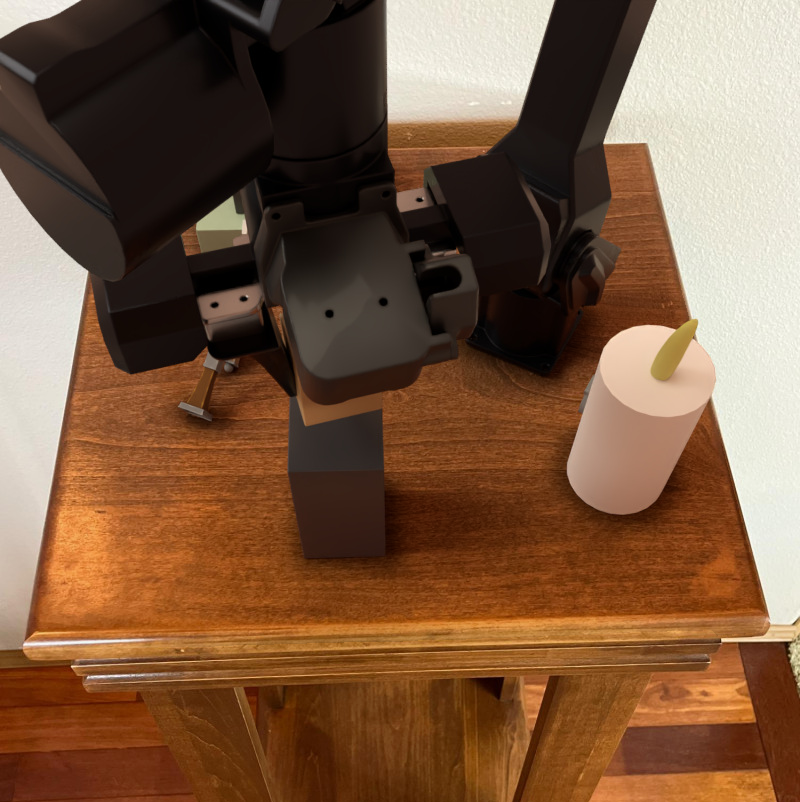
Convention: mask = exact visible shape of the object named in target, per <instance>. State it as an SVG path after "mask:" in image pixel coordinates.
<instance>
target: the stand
mask: <svg viewBox="0 0 800 802" xmlns="http://www.w3.org/2000/svg"><path fill="white" fill-rule="evenodd" d="M288 397H289V396H288ZM383 413H384V412H383V408H382V409H379V410H374V411H370V412H366V413H361V414H357V415H353V416H349V417H344V418H340V419H336V420H332V421H327V422H323V423H319V424H314V425H310V426H305V424H304V421H303V417H302V414H301V411H300V407H299V404H298V400H297V397H296V396H295V397H289V400H288V434H287V435H288V437H287V468H286V470H287V471H286V472H287V477H288V482H289V487H290V493H291V498H292V503H293V507H294V513H295V519H296V524H297V530H298V534H299V539H300V544H301V545H300V546H301V549H302V557H303V559H328V558H329V559H331V558H332V559H334V558H365V557H366V558H369V557H370V558H371V557H385V556H386V499H385V495H386V493H385V492H386V490H385V487H386V485H385V447H384V446H385V445H384V444H385V443H384V418H383V417H384V416H383V415H384V414H383Z"/></svg>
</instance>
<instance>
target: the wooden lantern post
mask: <svg viewBox="0 0 800 802" xmlns="http://www.w3.org/2000/svg"><path fill="white" fill-rule="evenodd" d="M240 361H241V358H236V359H232V360H227V361H218V360H216V359H214V358H213V357H211V355H210V354H209V352H208V351H207V354H206V357H205V360H204V362H203V364H202V367H203V370H202V373H201V375H200V377H199V379H198V381H197V383H196V385H195V387H194V389H193V391H192V393H191V395H190V397H189V398H188V400H187V401H186V402H183V401H180V403H179V405H177V408H179V409H180V410H183V411H184V412H185V413H187V414H190V415H193V416H196V417H198V418H201V419H204V420H206V421H210V422H213V417H214V415H213V414H211V413H210V412H209V411H210V404H211V400H212V395H213V392H214V388H215V383H216V380H217V377H218V375H221V373H222V368H223V369H224V371H225V372H227V373H231V372H233V370H234V368H238V369H239V363H240Z"/></svg>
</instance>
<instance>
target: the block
mask: <svg viewBox="0 0 800 802" xmlns="http://www.w3.org/2000/svg"><path fill="white" fill-rule="evenodd" d="M278 317H279V323H280V324H279V325H280V329H281V336H282V338H283V341H284V344H285V347H286V350H287V353H288V357H289V360H290V363H291V367H292V370H293V373H294V377H295V382H296V390H297V396H296V397H297V400H298V404H299V407H300V411H301V414H302V417H303V421H304V424H305V426H310V425H314V424H319V423H323V422H327V421H332V420H336V419H340V418H344V417H349V416H353V415H357V414H361V413H366V412H370V411H374V410H379V409H382V410H383V392H380V393H376V394H372V395H367V396H363V397H359V398H354V399H350V400H347V401H345V402H343V403H339V404H335V405H320V404H317V403H315V402H313V401H311V400H310V399H309V398H308V397H307V396H306V395H305V393H304V392H303V389H302V387H301V383H300V379H299V375H298V370H297V367H296V363H295V359H294V355H293V351H292V348H291V344H290V340H289V336H288V333H287V329H286V325H285V321H284V317H283V312H280V313H279V314H278Z"/></svg>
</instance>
